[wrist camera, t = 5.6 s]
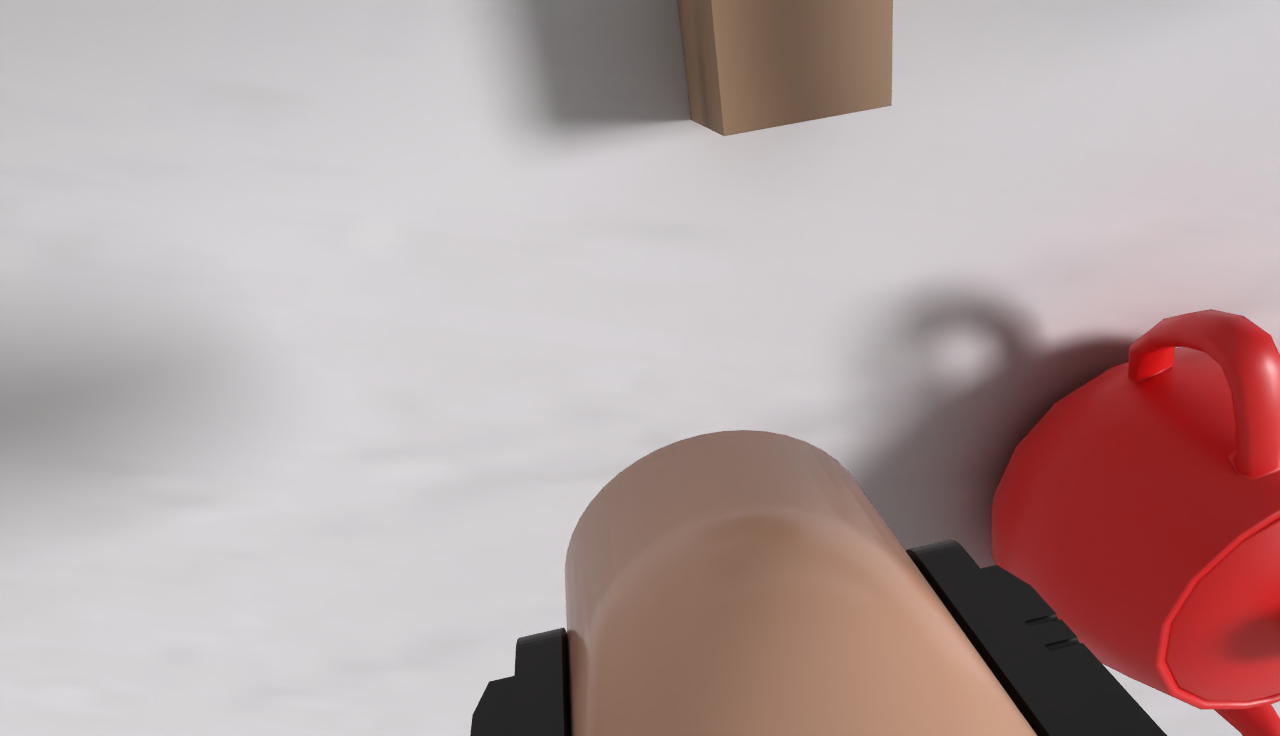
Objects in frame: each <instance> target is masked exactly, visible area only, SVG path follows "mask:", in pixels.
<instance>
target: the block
mask: <svg viewBox="0 0 1280 736" xmlns="http://www.w3.org/2000/svg"><path fill="white" fill-rule="evenodd" d="M677 1H678V9H679V18H680V27H681V36H682V44H683V53H684V62H685V70H686V79H687V88H688V96H689V105H690V114H691V120H692V121H694V122H697V123H699V124H701V125H703V126H705V127H707V128H709V129H711V130H713V131H715V132H717V133H719V134H721V135H723V136H727V135H732V134H738V133H743V132H749V131H754V130H760V129H765V128H771V127H776V126H782V125H787V124H793V123H798V122H804V121H809V120H815V119H820V118H825V117H831V116H836V115H842V114H847V113H853V112H858V111H864V110H869V109H875V108H880V107H886V106H891V98H892V15H893V0H677Z"/></svg>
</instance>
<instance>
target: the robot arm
mask: <svg viewBox="0 0 1280 736" xmlns="http://www.w3.org/2000/svg"><path fill="white" fill-rule="evenodd" d="M906 552H907V554H908V555H909V557H910V558H911V559H912V561H913V562H914V564H915V565H916V566H917V568H918V569H919V571H920V572H921V573H922V575H923V576H924V578H925V579H926V580H927V582H928V583H929V585H930V586H931V587H932V589H933V590H934V592H935V593H936V594H937V596H938V597H939V599H940V600H941V601H942V603H943V604H944V606H945V607H946V608H947V610H948V611H949V613H950V614H951V615H952V617H953V618H954V620H955V621H956V622H957V624H958V625H959V627H960V628H961V629H962V631H963V632H964V634H965V635H966V636H967V638H968V639H969V641H970V642H971V643H972V645H973V646H974V648H975V649H976V650H977V652H978V653H979V655H980V656H981V657H982V659H983V660H984V662H985V663H986V664H987V666H988V667H989V669H990V670H991V672H992V673H993V674H994V676H995V677H996V679H997V680H998V681H999V683H1000V684H1001V686H1002V687H1003V688H1004V690H1005V691H1006V693H1007V694H1008V695H1009V697H1010V698H1011V700H1012V701H1013V702H1014V704H1015V705H1016V707H1017V708H1018V709H1019V711H1020V712H1021V714H1022V715H1023V716H1024V718H1025V719H1026V721H1027V722H1028V723H1029V725H1030V726H1031V728H1032V729H1033V730H1034V732H1035V733H1036V735H1037V736H1167V735H1166V734H1165V733H1164V732H1163V731H1162V730H1161V729H1160V727H1159V726H1158V725H1157V724H1156V723H1155V722H1154V721H1153V720H1152V719H1151V718H1150V716H1149V715H1148V714H1147V713H1146V712H1145V711H1144V710H1143V709H1142V708H1141V706H1140V705H1139V704H1138V703H1137V702H1136V701H1135V700H1134V699H1133V698H1132V697H1131V695H1130V694H1129V693H1128V692H1127V691H1126V690H1125V689H1124V688H1123V687H1122V685H1121V684H1120V683H1119V682H1118V681H1117V680H1116V679H1115V678H1114V677H1113V676H1112V674H1111V673H1110V672H1109V671H1108V670H1107V669H1106V668H1105V667H1104V666H1103V664H1102V663H1101V662H1100V661H1099V660H1098V659H1097V658H1096V657H1095V656H1094V654H1093V653H1092V652H1091V651H1090V650H1089V649H1088V648H1087V647H1086V646H1085V645H1084V643H1080V642H1079V641H1078V638H1077V636H1076V635H1075V633H1074V632H1073V631H1072V630H1071V629H1070V628H1069V627H1068V626H1067V625H1066V624H1065V622H1064V621H1063V620H1062V619H1060V620H1059V619H1058V617H1057V615H1056V612H1055V611H1054V610H1053V609H1052V608H1051V607H1050V606H1049V605H1048V604H1047V603H1046V601H1045V600H1044V599H1043V598H1042V597H1041V596H1040V595H1039V594H1038V593H1037V591H1036V590H1035V589H1034V588H1033V587H1032V586H1031V585H1029V584H1028V583H1026V582H1024V581H1023V580H1021V579H1019V578H1018V577H1016V576H1014V575H1013V574H1011V573H1010V572H1008V571H1006V570H1005V569H1003V568H1001V567H1000V566H998V565H995V566H991V567H987V568H982V569H980V568H979V566H978V565H977V564H976V563H975V562H974V560H973V559H972V558H971V557H970V556H969V554H968V553H967V552H966V551H965V550H964V548H963V547H962V546H961V545H960V544H959V543H957V542H956V541H954V540H947V541H943V542H939V543H934V544H930V545H926V546H921V547H917V548H913V549H908V550H906ZM470 736H571V725H570V697H569V670H568V643H567V632H566V630H565V628H560V629H556V630H551V631H547V632H543V633H538V634H534V635H530V636H525V637H521V638H519V639H518V640H517V644H516V659H515V676H512V677H507V678H503V679H499V680H495V681H490V682H489V683H488V685H487V687H486V689H485V691H484V693H483V695H482V697H481V699H480V701H479V703H478V705H477V707H476V709H475V711H474V713H473V717H472V726H471V735H470Z"/></svg>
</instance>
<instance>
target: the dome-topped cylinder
mask: <svg viewBox="0 0 1280 736" xmlns="http://www.w3.org/2000/svg"><path fill="white" fill-rule="evenodd" d="M565 588H566V615H567V643H568V670H569V697H570V725H571V736H1037V735H1036V733H1035V732H1034V730H1033V729H1032V728H1031V726H1030V725H1029V723H1028V722H1027V721H1026V719H1025V718H1024V716H1023V715H1022V714H1021V712H1020V711H1019V709H1018V708H1017V707H1016V705H1015V704H1014V702H1013V701H1012V700H1011V698H1010V697H1009V695H1008V694H1007V693H1006V691H1005V690H1004V688H1003V687H1002V686H1001V684H1000V683H999V681H998V680H997V679H996V677H995V676H994V674H993V673H992V672H991V670H990V669H989V667H988V666H987V664H986V663H985V662H984V660H983V659H982V657H981V656H980V655H979V653H978V652H977V650H976V649H975V648H974V646H973V645H972V643H971V642H970V641H969V639H968V638H967V636H966V635H965V634H964V632H963V631H962V629H961V628H960V627H959V625H958V624H957V622H956V621H955V620H954V618H953V617H952V615H951V614H950V613H949V611H948V610H947V608H946V607H945V606H944V604H943V603H942V601H941V600H940V599H939V597H938V596H937V594H936V593H935V592H934V590H933V589H932V587H931V586H930V585H929V583H928V582H927V580H926V579H925V578H924V576H923V575H922V573H921V572H920V571H919V569H918V568H917V566H916V565H915V564H914V562H913V561H912V559H911V558H910V557H909V555H908V554H907V552H906V551H905V550H904V548H903V547H902V545H901V544H900V543H899V541H898V540H897V538H896V537H895V536H894V534H893V533H892V531H891V530H890V529H889V527H888V526H887V524H886V523H885V522H884V520H883V519H882V517H881V516H880V515H879V513H878V512H877V510H876V509H875V508H874V506H873V505H872V503H871V502H870V501H869V499H868V498H867V496H866V495H865V494H864V492H863V491H862V489H861V488H860V487H859V485H858V484H857V482H856V481H855V480H854V478H853V477H852V476H851V474H850V473H849V472H848V471H847V470H846V469H845V468H844V467H843V466H842V465H841V464H840V463H839V462H838V461H837V460H836V459H834V458H833V457H831V456H830V455H828V454H827V453H826V452H824V451H823V450H821V449H819V448H817V447H815V446H813V445H811V444H809V443H807V442H805V441H802V440H799V439H796V438H792V437H789V436H786V435H781V434H776V433H771V432H764V431H749V430H739V431H722V432H716V433H710V434H704V435H699V436H695V437H692V438H688V439H685V440H681V441H678V442H675V443H673V444H670V445H668V446H665V447H663V448H660V449H658V450H656V451H654V452H652V453H650V454H649V455H647V456H645V457H643V458H641V459H639V460H638V461H636V462H635V463H633V464H632V465H630V466H629V467H628V468H626V469H625V470H623V471H622V472H620V473H619V474H618V475H617V476H616V477H615V478H613V479H612V480H611V481H610V482H609V483H608V484H607V485H606V486H605V487H604V488H603V489H602V490H601V491H600V492H599V493H598V494H597V496H596V497H595V498H594V499H593V500H592V501H591V502H590V504H589V505H588V507H587V508H586V510H585V511H584V513H583V515H582V516H581V518H580V519H579V521H578V523H577V526H576V528H575V530H574V532H573V534H572V537H571V540H570V543H569V547H568V550H567V555H566V563H565Z"/></svg>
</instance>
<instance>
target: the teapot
mask: <svg viewBox="0 0 1280 736" xmlns="http://www.w3.org/2000/svg"><path fill="white" fill-rule="evenodd" d="M1183 346H1184V347H1183ZM1175 347H1181V348H1177V349H1175ZM992 556H993V559H994V561H995V563H996V565H998V566H1000V567H1001V568H1003V569H1005V570H1006V571H1008V572H1010V573H1011V574H1013V575H1014V576H1016V577H1018V578H1019V579H1021V580H1023V581H1024V582H1026V583H1028V584H1029V585H1031V586H1032V587H1033V588H1034V589H1035V590H1036V591H1037V593H1038V594H1039V595H1040V596H1041V597H1042V598H1043V599H1044V600H1045V601H1046V603H1047V604H1048V605H1049V606H1050V607H1051V608H1052V609H1053V610H1054V611H1055V612H1056V615H1057V617H1058V619H1059V620H1060V619H1062V620H1063V621H1064V622H1065V624H1066V625H1067V626H1068V627H1069V628H1070V629H1071V630H1072V631H1073V632H1074V633H1075V635H1076V636H1077V638H1078V641H1079V642H1080V643H1084V645H1085V646H1086V647H1087V648H1088V649H1089V650H1090V651H1091V652H1092V653H1093V654H1094V656H1095V657H1096V658H1097V659H1098V660H1099V661H1100V662H1101V663H1102V664H1104V665H1106V666H1108V667H1110V668H1112V669H1114V670H1116V671H1118V672H1120V673H1122V674H1124V675H1126V676H1128V677H1130V678H1132V679H1135V680H1137V681H1139V682H1141V683H1144V684H1146V685H1148V686H1150V687H1152V688H1155V689H1157V690H1159V691H1161V692H1163V693H1166V694H1168V695H1170V696H1172V697H1175V698H1177V699H1179V700H1181V701H1183V702H1186V703H1188V704H1190V705H1192V706H1194V707H1197V708H1199V709H1214V710H1215V711H1216V712H1217V713H1218V714H1220V715H1221V716H1222V717H1223V718H1224V719H1225V720H1227V721H1228V722H1229V723H1230V724H1231V725H1232V726H1234V727H1235V728H1236V729H1237V730H1238V731H1239V732H1240V733H1241V734H1242V735H1243V736H1280V718H1279V716H1278V715H1277V713H1276V711H1275V710H1274V708H1273V707H1272V705H1271V704H1273V703H1275V702H1278V701H1280V354H1279V353H1278V350H1277V348H1276V346H1275V344H1274V341H1273V339H1272V337H1271V335H1269V334H1268V333H1267V332H1265V331H1264V330H1262V329H1261V328H1260V327H1258V326H1257V325H1255V324H1254V323H1253V322H1251V321H1250V320H1248V319H1247V318H1246V317H1244V316H1241V315H1236V314H1231V313H1226V312H1222V311H1217V310H1212V309H1210V310H1204V311H1199V312H1193V313H1188V314H1183V315H1179V316H1174V317H1170V318H1166V319H1163V320H1162V321H1160V322H1159V323H1158V324H1157V325H1155V326H1154V327H1153V328H1152V329H1150V330H1149V331H1148V332H1147V333H1145V334H1144V335H1143V336H1142V337H1140V338H1139V339H1138V340H1136V341H1135V342H1134V343H1133V344H1131V345H1130V346H1129V359H1128V362H1127V363H1123V364H1120V365H1117V366H1113V367H1111V368H1110V369H1108V370H1107V371H1105V372H1103V373H1102V374H1100V375H1099V376H1097V377H1095V378H1094V379H1092V380H1091V381H1089V382H1087V383H1086V384H1084V385H1083V386H1081V387H1079V388H1078V389H1076V390H1075V391H1073V392H1071V393H1070V394H1068V395H1067V396H1065V397H1064V398H1062V399H1060V400H1059V401H1057V402H1056V403H1055V404H1054V405H1053V406H1052V407H1051V408H1050V410H1049V411H1048V412H1047V413H1046V414H1045V415H1044V416H1043V417H1042V418H1041V419H1040V421H1039V422H1038V423H1037V424H1036V425H1035V426H1034V427H1033V428H1032V429H1031V430H1030V432H1029V433H1028V434H1027V435H1026V436H1025V437H1024V438H1023V439H1022V440H1021V442H1020V443H1019V444H1018V445H1017V446H1016V447H1015V449H1014V452H1013V454H1012V456H1011V458H1010V461H1009V463H1008V465H1007V467H1006V469H1005V472H1004V474H1003V476H1002V478H1001V480H1000V483H999V485H998V487H997V489H996V492H995V494H994V498H993V503H992Z"/></svg>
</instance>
